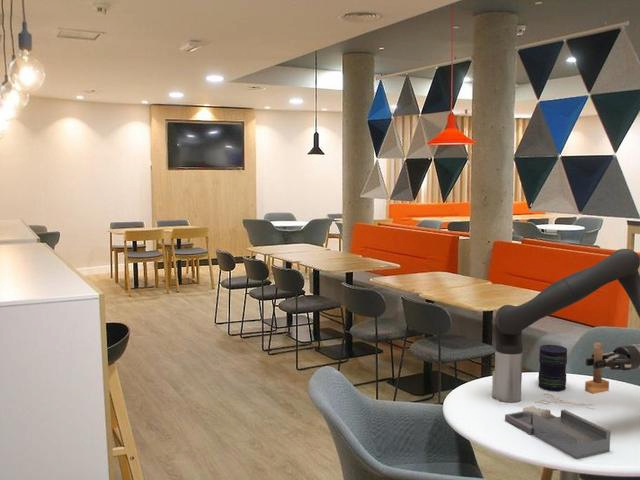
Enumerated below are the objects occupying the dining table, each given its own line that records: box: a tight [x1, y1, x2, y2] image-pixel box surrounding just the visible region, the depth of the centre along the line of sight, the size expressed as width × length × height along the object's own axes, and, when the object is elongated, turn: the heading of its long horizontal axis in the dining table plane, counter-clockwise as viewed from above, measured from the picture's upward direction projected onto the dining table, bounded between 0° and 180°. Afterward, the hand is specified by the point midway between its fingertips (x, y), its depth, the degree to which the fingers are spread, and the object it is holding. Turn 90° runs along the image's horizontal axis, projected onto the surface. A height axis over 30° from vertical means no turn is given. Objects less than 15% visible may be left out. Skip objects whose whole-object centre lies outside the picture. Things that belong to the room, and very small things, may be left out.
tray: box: [504, 408, 557, 435], centre depth 201 cm, size 12×14×2 cm
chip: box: [531, 408, 552, 419], centre depth 198 cm, size 4×4×4 cm
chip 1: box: [522, 405, 539, 424], centre depth 202 cm, size 4×4×4 cm
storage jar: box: [537, 344, 568, 393], centre depth 234 cm, size 10×10×15 cm
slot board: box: [532, 409, 612, 460], centre depth 187 cm, size 18×12×6 cm
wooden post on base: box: [584, 342, 610, 395], centre depth 193 cm, size 3×6×15 cm, turn 112°
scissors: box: [533, 393, 594, 410], centre depth 219 cm, size 11×1×20 cm
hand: (590, 363), depth 192 cm, fingers closed on wooden post on base, 2 cm apart
